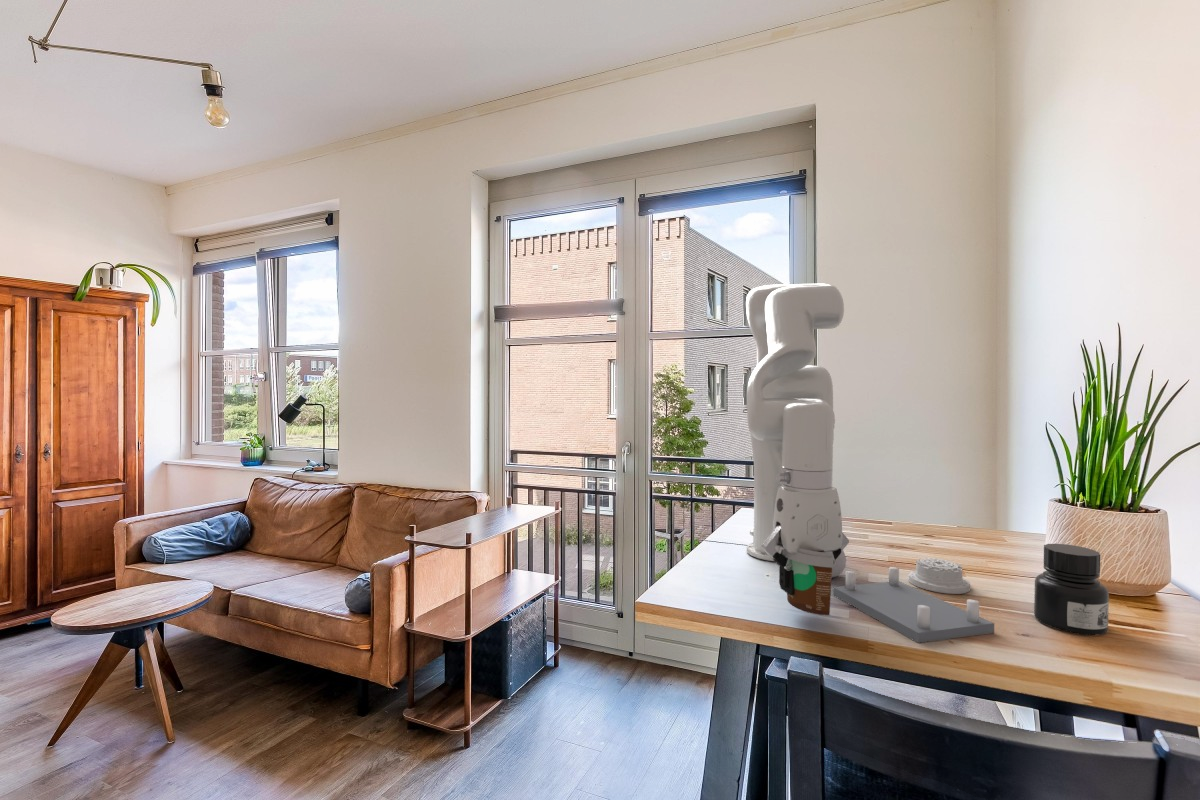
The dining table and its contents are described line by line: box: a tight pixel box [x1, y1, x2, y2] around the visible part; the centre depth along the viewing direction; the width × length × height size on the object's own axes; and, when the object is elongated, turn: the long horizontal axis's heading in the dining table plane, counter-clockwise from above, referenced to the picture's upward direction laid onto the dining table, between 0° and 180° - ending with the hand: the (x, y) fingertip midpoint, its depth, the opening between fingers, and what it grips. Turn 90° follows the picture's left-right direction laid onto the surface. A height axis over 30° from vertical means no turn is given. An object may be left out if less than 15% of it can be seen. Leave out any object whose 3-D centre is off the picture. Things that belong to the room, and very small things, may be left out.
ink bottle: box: [1033, 543, 1110, 636], centre depth 86 cm, size 10×9×12 cm
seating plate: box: [832, 566, 995, 644], centre depth 91 cm, size 19×14×4 cm
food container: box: [782, 547, 834, 616], centre depth 88 cm, size 12×6×10 cm, turn 175°
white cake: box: [908, 557, 971, 595], centre depth 104 cm, size 10×4×10 cm
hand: (805, 588), depth 88 cm, fingers closed on food container, 5 cm apart
